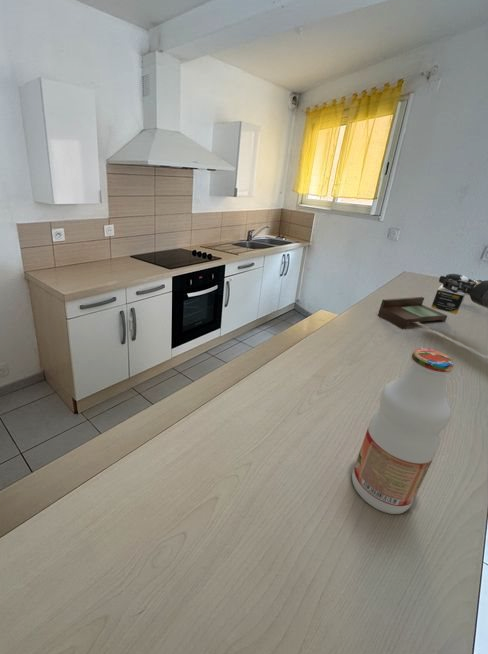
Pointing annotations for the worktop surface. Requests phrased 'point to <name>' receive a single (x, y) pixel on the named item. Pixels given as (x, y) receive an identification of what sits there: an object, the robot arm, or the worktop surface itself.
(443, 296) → the medicine bottle
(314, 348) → the worktop surface
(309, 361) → the worktop surface
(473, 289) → the robot arm
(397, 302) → the dark wooden tray
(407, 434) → the fruit juice
